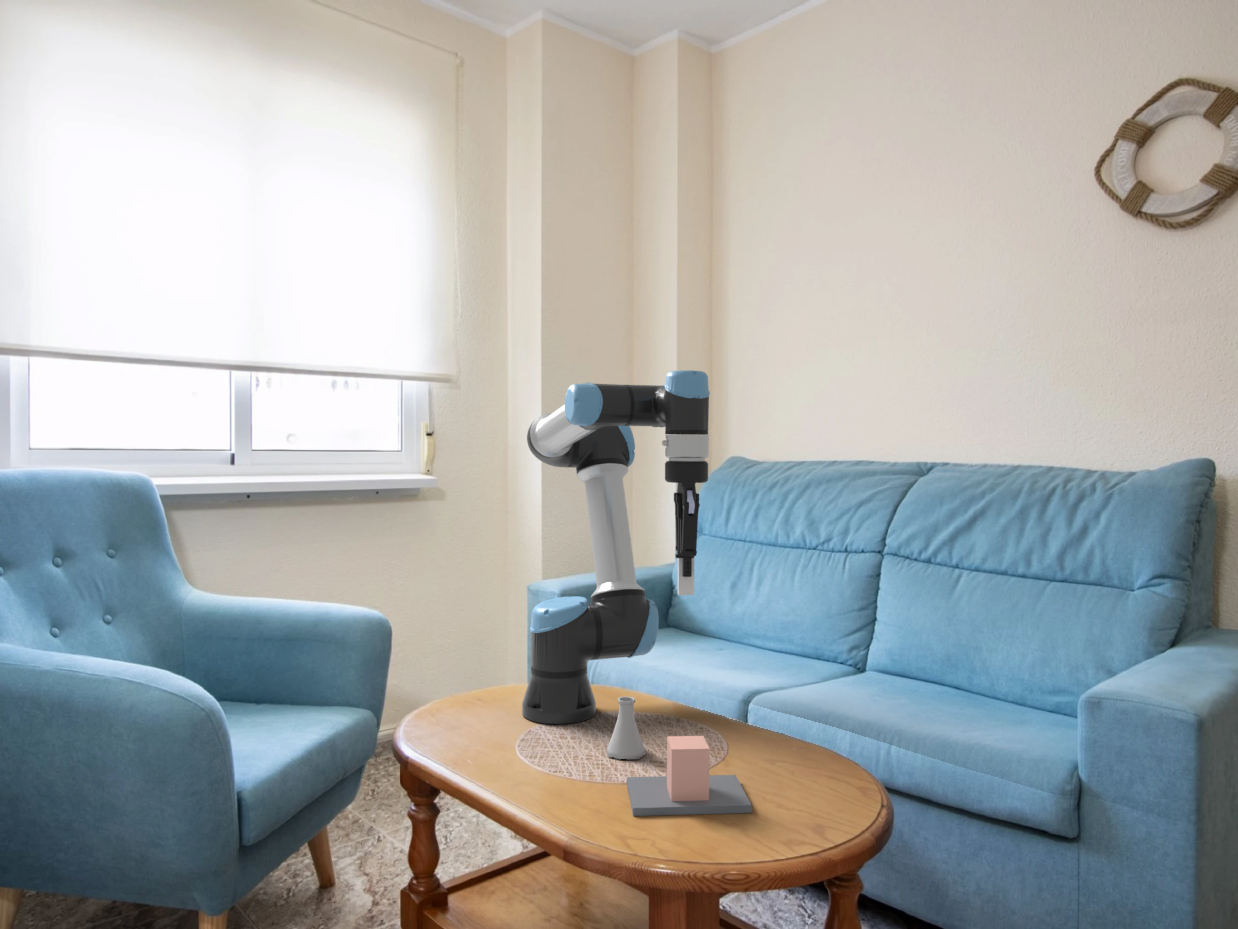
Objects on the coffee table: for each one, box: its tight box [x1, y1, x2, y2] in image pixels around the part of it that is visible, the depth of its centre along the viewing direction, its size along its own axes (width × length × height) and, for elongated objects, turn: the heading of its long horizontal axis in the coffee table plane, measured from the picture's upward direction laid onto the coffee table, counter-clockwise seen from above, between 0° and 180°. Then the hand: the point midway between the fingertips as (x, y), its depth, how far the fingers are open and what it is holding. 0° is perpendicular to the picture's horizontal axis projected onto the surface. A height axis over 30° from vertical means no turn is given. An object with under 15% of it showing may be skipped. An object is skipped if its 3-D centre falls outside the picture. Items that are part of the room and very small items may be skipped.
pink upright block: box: [666, 735, 710, 801], centre depth 136 cm, size 6×6×8 cm
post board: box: [626, 774, 753, 817], centre depth 137 cm, size 12×18×6 cm, turn 94°
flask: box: [606, 696, 647, 760], centre depth 157 cm, size 7×7×10 cm
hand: (685, 594), depth 153 cm, fingers closed
